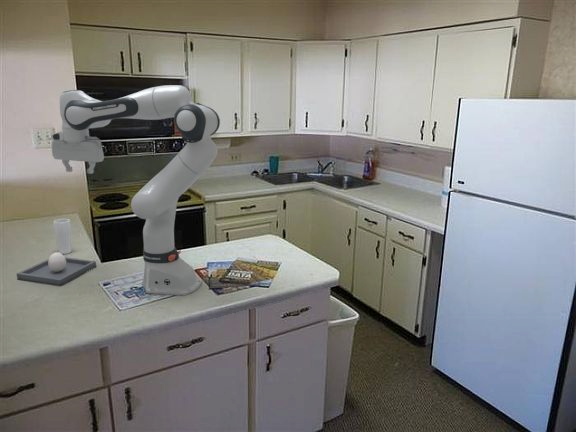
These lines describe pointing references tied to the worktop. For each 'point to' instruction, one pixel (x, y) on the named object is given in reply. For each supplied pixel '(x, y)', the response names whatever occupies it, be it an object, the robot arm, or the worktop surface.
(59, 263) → the egg
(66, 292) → the worktop surface
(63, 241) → the drinking glass
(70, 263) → the tray
